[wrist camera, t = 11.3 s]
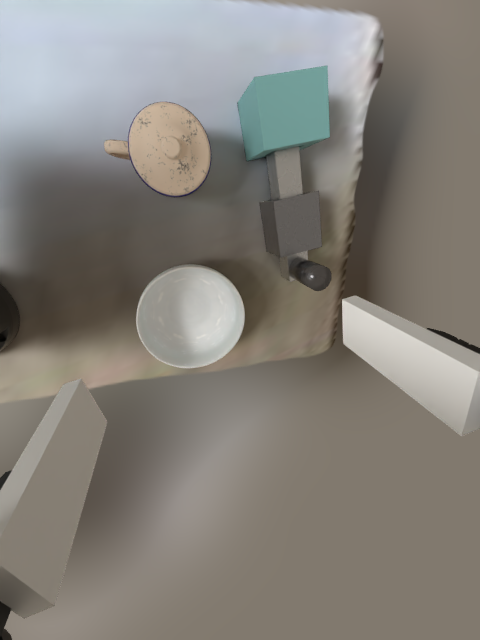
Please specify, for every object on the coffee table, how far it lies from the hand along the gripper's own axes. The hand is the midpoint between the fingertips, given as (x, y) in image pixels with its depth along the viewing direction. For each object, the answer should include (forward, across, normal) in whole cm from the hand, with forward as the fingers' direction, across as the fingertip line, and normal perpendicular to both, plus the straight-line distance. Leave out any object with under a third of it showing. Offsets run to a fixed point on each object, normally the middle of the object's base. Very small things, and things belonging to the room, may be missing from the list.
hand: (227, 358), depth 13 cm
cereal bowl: (+33, -2, -9) cm, 34 cm away
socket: (+33, +17, +14) cm, 40 cm away
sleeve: (+33, +17, +1) cm, 37 cm away
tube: (+32, +17, +4) cm, 36 cm away
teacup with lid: (+33, 0, +13) cm, 35 cm away
